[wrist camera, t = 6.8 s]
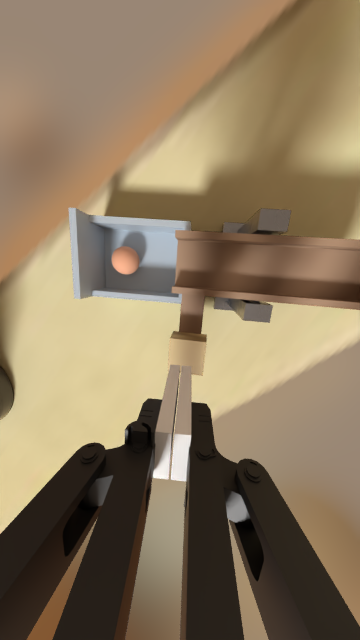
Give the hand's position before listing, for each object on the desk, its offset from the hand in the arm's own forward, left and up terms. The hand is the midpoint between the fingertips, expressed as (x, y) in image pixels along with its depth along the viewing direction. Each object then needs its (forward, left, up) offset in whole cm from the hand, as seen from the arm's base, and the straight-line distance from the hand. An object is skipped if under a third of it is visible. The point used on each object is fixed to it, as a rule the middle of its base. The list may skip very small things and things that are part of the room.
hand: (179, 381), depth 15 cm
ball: (-7, +9, -13) cm, 17 cm away
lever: (+8, +5, -7) cm, 12 cm away
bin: (-7, +9, -14) cm, 18 cm away
